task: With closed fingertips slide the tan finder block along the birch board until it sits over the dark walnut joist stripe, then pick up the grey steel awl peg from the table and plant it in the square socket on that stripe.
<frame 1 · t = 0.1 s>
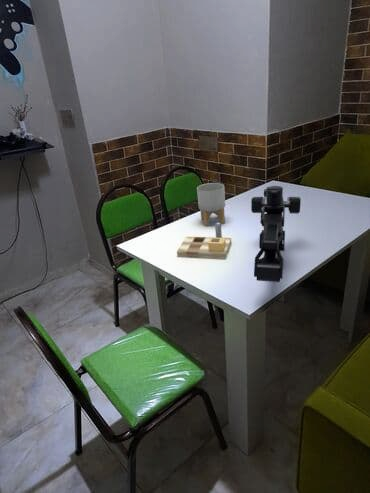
hand: (276, 198, 144), 17 cm above the table, tool horizontal, fingers open, 9 cm apart
planter: (212, 221, 171), on the table
subfloor board: (205, 249, 144), on the table
awl peg: (218, 239, 152), on the table
finder block: (217, 248, 139), point 2 cm above the table, touching subfloor board
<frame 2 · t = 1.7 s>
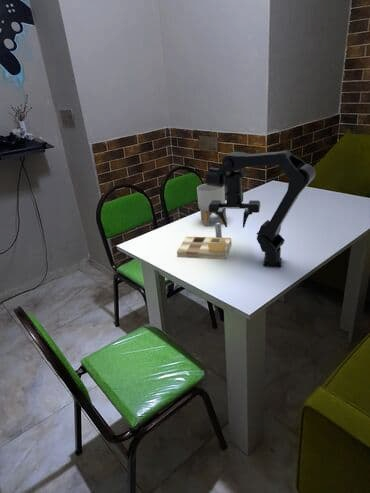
hand: (235, 227, 133), 12 cm above the table, tool pointing down, fingers open, 6 cm apart
nothing on the table moved.
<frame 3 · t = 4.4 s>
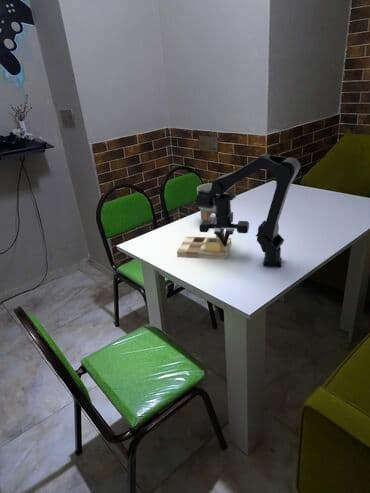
hand: (225, 246, 138), 4 cm above the table, tool pointing down, fingers closed
finder block: (214, 248, 139), point 2 cm above the table, touching gripper, subfloor board
everything else where it was.
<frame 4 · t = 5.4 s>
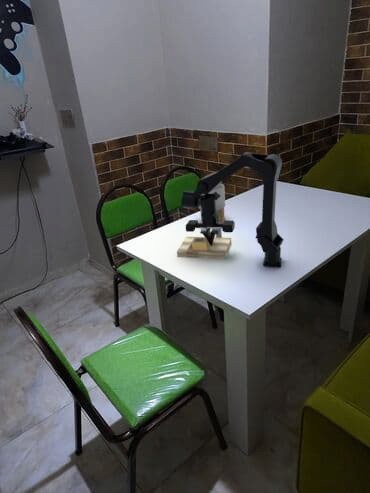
hand: (211, 245, 139), 4 cm above the table, tool pointing down, fingers closed
finder block: (201, 247, 141), point 3 cm above the table, touching gripper, subfloor board
everything else where it was.
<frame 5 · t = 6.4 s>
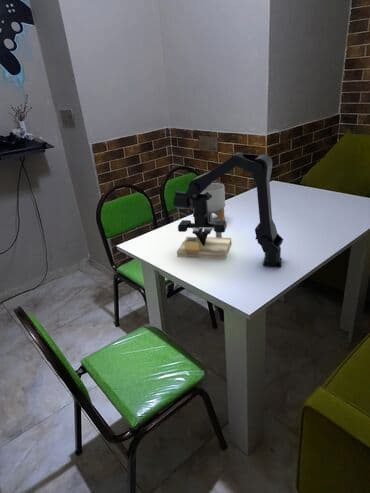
hand: (204, 245, 140), 4 cm above the table, tool pointing down, fingers closed
finder block: (193, 247, 142), point 2 cm above the table, touching gripper, subfloor board
everything else where it was.
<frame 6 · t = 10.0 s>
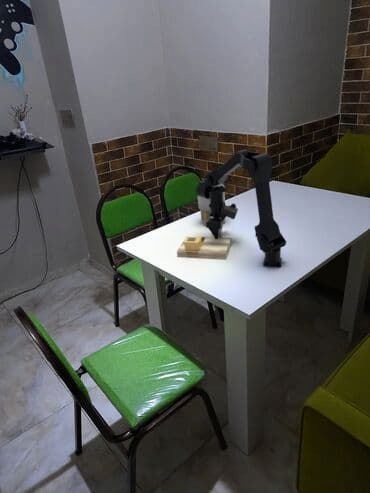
hand: (218, 234, 150), 2 cm above the table, tool pointing down, fingers open, 8 cm apart
finder block: (193, 247, 142), point 2 cm above the table, touching subfloor board
everything else where it was.
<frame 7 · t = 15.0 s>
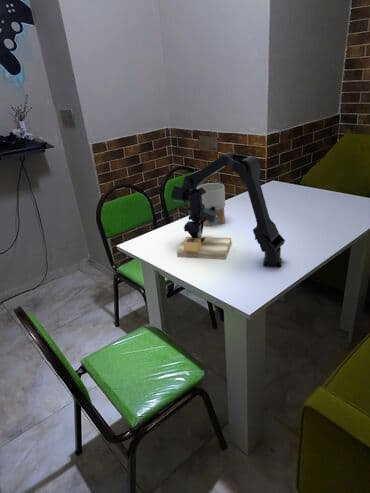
hand: (198, 238, 147), 3 cm above the table, tool pointing down, fingers open, 8 cm apart
awl peg: (199, 245, 149), resting in subfloor board
finder block: (192, 248, 141), point 2 cm above the table, touching gripper, subfloor board
everything else where it was.
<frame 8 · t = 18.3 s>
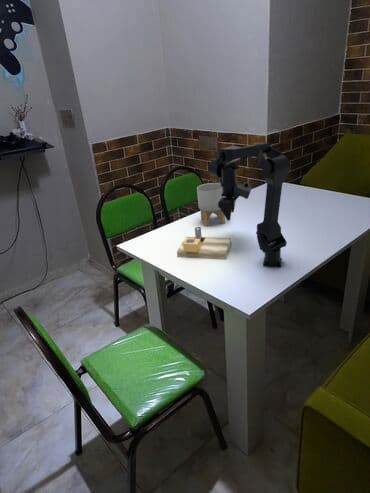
hand: (230, 216, 143), 12 cm above the table, tool pointing down, fingers open, 9 cm apart
finder block: (192, 248, 141), point 2 cm above the table, touching subfloor board
everything else where it was.
at the end: finder block inside the target area (1.9 cm from its centre), point 2.4 cm above the table; awl peg 0.0 cm from the target spot, resting in subfloor board; the gripper is holding nothing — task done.
